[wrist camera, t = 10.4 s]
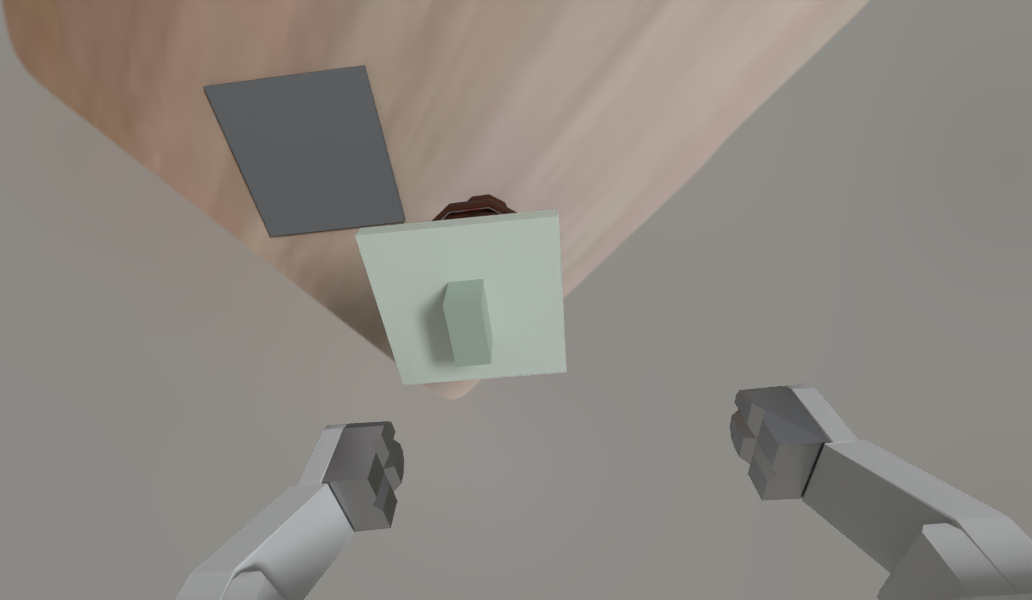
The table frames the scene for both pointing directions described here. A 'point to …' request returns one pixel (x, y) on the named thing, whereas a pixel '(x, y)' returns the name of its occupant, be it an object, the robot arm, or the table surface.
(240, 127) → the mat
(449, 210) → the ice cream bowl
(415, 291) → the lid
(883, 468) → the robot arm
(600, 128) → the table surface
